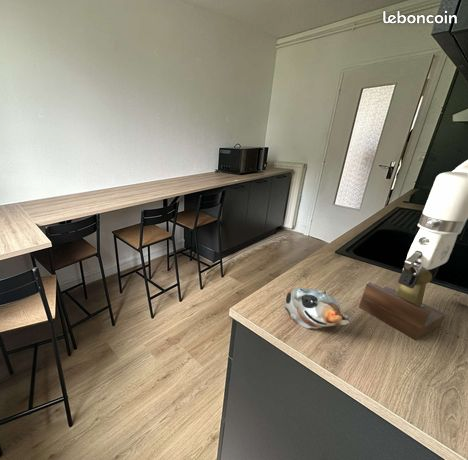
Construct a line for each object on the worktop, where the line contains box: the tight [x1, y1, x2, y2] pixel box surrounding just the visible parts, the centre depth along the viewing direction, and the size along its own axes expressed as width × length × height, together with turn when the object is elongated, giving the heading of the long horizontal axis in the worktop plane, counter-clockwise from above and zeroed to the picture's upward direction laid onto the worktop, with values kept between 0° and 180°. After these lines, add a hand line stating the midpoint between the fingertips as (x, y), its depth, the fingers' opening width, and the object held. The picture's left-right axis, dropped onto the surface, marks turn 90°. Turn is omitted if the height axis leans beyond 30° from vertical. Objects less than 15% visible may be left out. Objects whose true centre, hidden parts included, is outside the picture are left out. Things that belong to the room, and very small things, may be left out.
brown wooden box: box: [358, 281, 447, 341], centre depth 71 cm, size 12×14×9 cm
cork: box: [395, 266, 433, 307], centre depth 70 cm, size 6×6×11 cm
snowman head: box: [284, 287, 352, 330], centre depth 70 cm, size 15×12×14 cm
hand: (415, 280), depth 69 cm, fingers open, 9 cm apart
